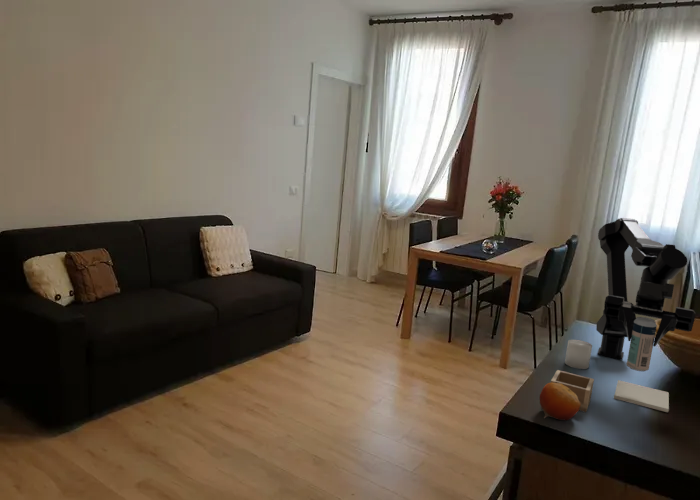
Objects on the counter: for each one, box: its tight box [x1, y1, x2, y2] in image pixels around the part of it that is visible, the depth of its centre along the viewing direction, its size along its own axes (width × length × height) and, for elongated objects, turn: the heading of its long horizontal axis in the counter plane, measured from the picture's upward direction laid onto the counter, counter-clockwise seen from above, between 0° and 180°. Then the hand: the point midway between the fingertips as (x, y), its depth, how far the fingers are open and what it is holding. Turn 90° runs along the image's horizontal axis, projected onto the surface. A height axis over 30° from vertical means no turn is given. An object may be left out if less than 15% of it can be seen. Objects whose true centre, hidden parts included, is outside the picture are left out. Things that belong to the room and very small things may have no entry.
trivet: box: [613, 379, 670, 413], centre depth 128 cm, size 11×11×1 cm
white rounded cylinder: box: [564, 339, 593, 370], centre depth 145 cm, size 6×6×6 cm
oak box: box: [550, 369, 595, 413], centre depth 122 cm, size 8×8×5 cm
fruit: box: [539, 381, 581, 421], centre depth 114 cm, size 8×8×8 cm
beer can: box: [625, 316, 658, 372], centre depth 126 cm, size 5×5×12 cm
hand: (641, 342), depth 125 cm, fingers closed on beer can, 5 cm apart
